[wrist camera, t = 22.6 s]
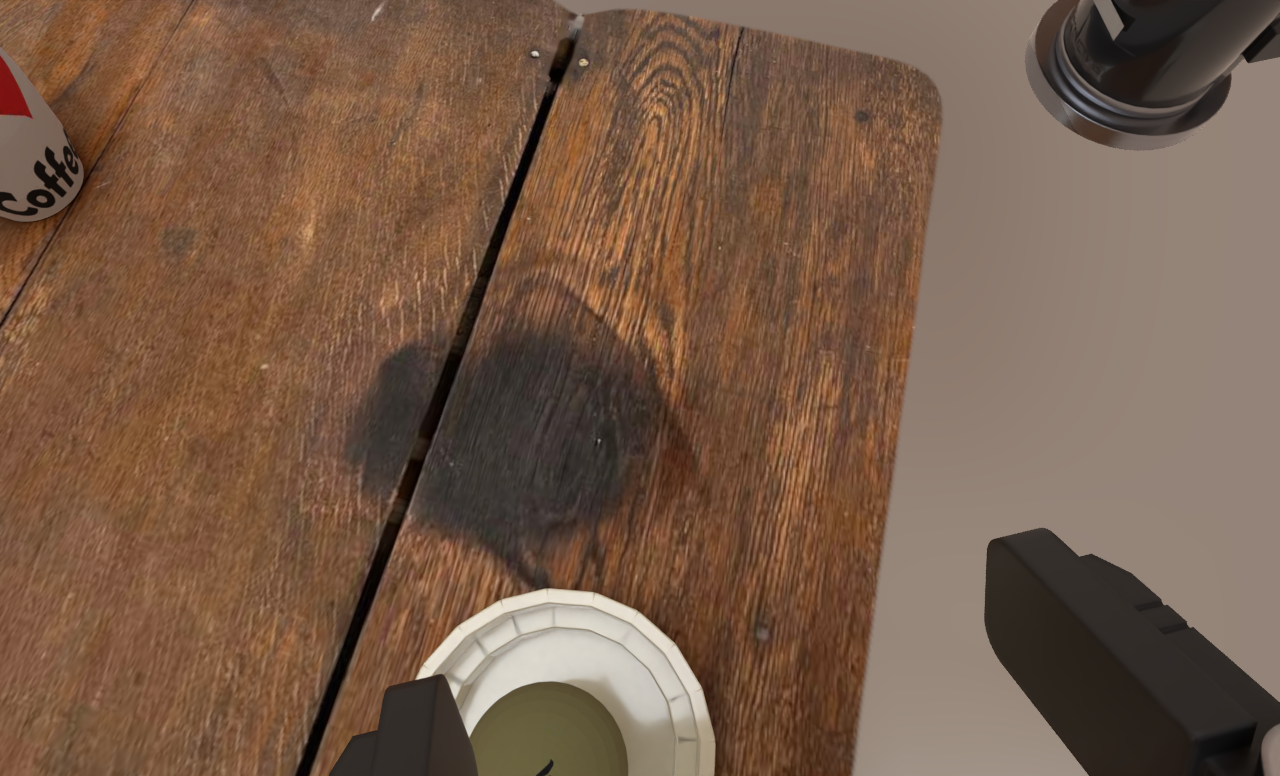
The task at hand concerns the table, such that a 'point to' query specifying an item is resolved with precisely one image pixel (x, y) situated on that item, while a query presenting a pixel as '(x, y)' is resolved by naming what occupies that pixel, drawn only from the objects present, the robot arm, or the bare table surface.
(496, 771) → the light bulb
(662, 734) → the bowl
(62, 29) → the table surface
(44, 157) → the cup
